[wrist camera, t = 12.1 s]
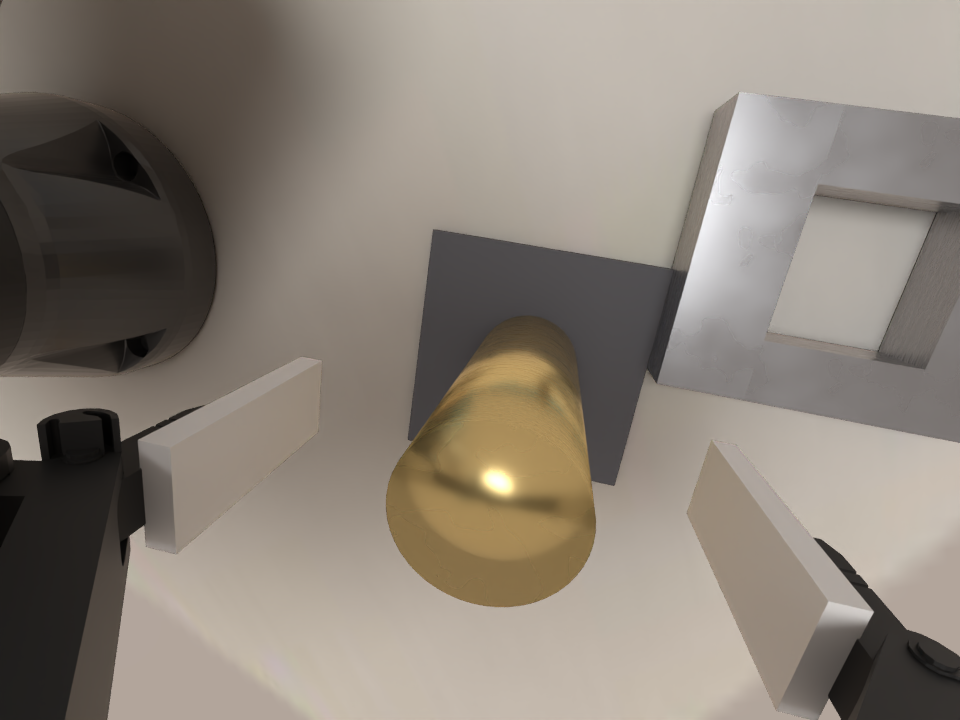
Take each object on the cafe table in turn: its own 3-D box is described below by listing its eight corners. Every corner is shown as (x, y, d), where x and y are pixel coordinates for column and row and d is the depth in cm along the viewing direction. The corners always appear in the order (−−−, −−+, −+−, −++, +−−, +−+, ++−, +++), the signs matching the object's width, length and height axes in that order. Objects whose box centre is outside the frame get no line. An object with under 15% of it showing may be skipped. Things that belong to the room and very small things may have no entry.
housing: (645, 365, 24) (656, 383, 21) (714, 110, 21) (739, 91, 18) (939, 421, 22) (994, 449, 20) (1068, 155, 19) (1159, 142, 16)
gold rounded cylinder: (472, 398, 26) (377, 578, 12) (487, 307, 24) (396, 400, 11) (565, 418, 25) (570, 629, 12) (586, 325, 24) (619, 447, 10)
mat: (409, 436, 27) (407, 439, 27) (435, 229, 24) (432, 229, 24) (613, 482, 26) (614, 485, 26) (671, 268, 23) (673, 269, 22)
